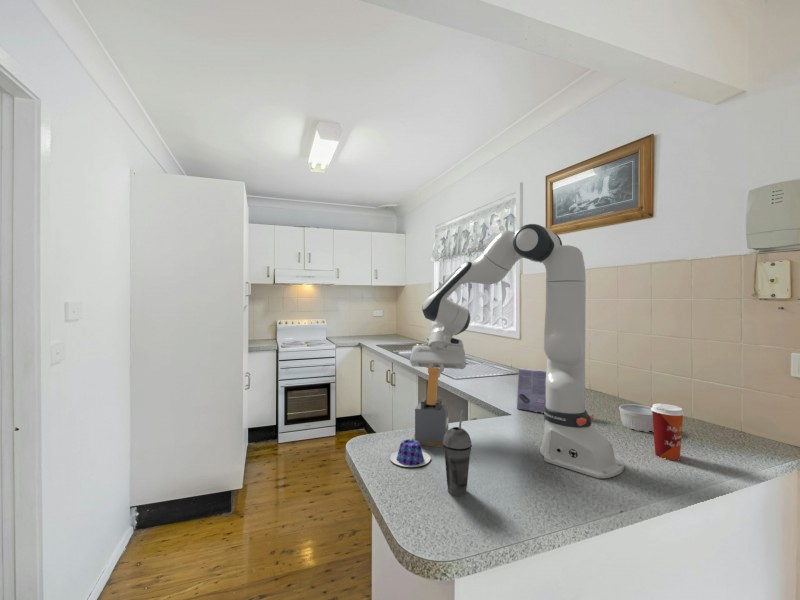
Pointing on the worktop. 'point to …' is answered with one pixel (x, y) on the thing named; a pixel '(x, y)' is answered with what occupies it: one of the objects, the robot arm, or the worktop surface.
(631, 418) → the ramekin
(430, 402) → the lever
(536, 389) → the cake pan box
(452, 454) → the beverage cup
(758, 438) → the worktop surface
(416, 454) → the pudding
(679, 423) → the coffee cup
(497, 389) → the worktop surface
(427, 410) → the box
